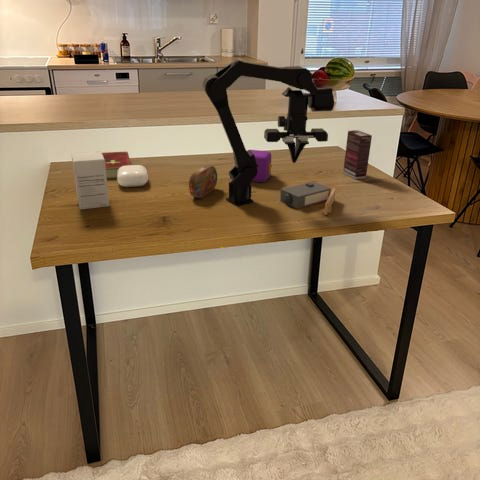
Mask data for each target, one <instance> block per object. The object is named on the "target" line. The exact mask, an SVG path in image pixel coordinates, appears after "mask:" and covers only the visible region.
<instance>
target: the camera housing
mask: <svg viewBox="0 0 480 480" xmlns="http://www.w3.org/2000/svg"><path fill="white" fill-rule="evenodd" d="M331 192H332V188H331V187H328V186H327V185H324V184H322V183H319V182H316V181H309V182H305V183H300V184H296V185H291V186H289V187H284V188H280V200H279V201H280V202H282V203H283V204H285V205H288V206H290V207H292V208H294V209H297V210H298V209H302V208H305V207H309V206H314V205H317V204H320V203H323V202H326V201H327V199H328V197H329V196H330V194H331Z"/></svg>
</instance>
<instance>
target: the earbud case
mask: <svg viewBox="0 0 480 480" xmlns="http://www.w3.org/2000/svg"><path fill="white" fill-rule="evenodd" d="M148 176H149V175H148V171H147V169H146V167H145V166H143V165H141V164H130V165H126V166H122V167H120V168H119V169H118V171H117V177H116V180H117V182H118V185H120V186H121V187H123V188H124V187H125V188H128V187H129V188H130V187H131V188H133V187H142V186H145V185H146V183H148V180H149V177H148Z"/></svg>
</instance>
